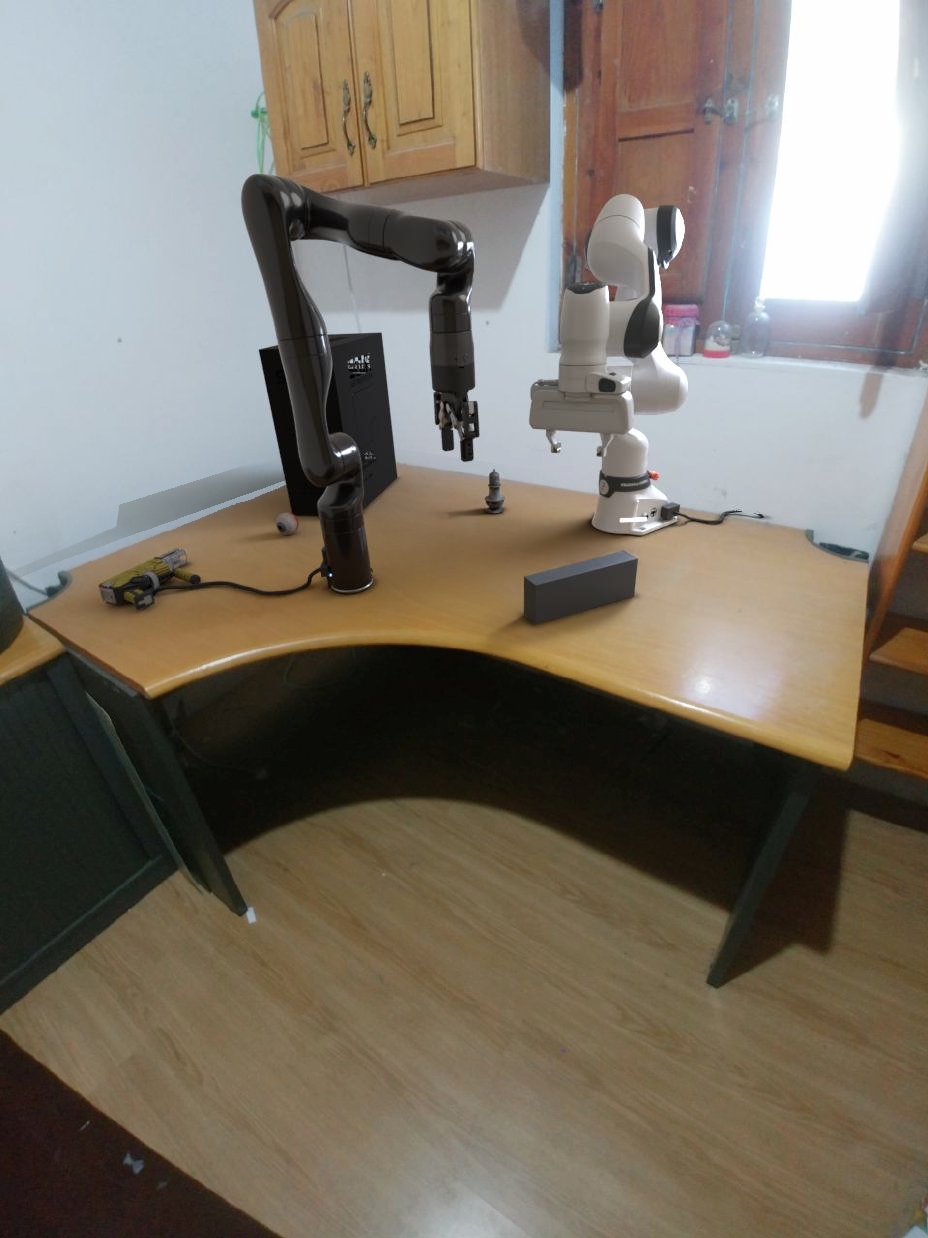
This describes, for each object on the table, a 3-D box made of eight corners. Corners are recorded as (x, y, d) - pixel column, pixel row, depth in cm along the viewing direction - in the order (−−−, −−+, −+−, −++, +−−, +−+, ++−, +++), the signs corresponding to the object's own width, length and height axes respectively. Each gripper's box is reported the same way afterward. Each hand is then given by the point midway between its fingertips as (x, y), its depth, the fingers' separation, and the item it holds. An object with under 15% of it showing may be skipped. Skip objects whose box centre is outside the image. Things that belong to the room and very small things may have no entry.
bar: (620, 587, 128) (623, 550, 124) (634, 596, 125) (638, 558, 120) (523, 614, 120) (523, 576, 116) (535, 625, 117) (535, 585, 112)
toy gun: (224, 556, 146) (173, 545, 150) (148, 597, 126) (92, 584, 130) (226, 573, 148) (177, 563, 152) (152, 617, 128) (97, 603, 132)
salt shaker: (503, 513, 170) (502, 471, 164) (483, 513, 171) (481, 471, 165) (506, 506, 175) (506, 465, 169) (486, 506, 176) (485, 465, 170)
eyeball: (273, 537, 164) (268, 516, 161) (287, 528, 169) (282, 508, 166) (291, 539, 161) (286, 518, 158) (305, 530, 166) (301, 510, 163)
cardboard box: (355, 516, 174) (330, 347, 152) (292, 514, 179) (258, 349, 156) (397, 477, 206) (381, 332, 183) (342, 476, 210) (320, 334, 188)
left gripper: (416, 358, 107) (424, 450, 115) (448, 366, 95) (454, 468, 104) (455, 354, 109) (460, 444, 117) (491, 362, 98) (493, 461, 106)
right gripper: (524, 380, 115) (523, 453, 122) (630, 383, 106) (623, 462, 113) (537, 376, 120) (535, 447, 127) (639, 379, 111) (632, 454, 118)
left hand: (457, 455), depth 111 cm, fingers open, 8 cm apart
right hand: (578, 454), depth 120 cm, fingers open, 8 cm apart
